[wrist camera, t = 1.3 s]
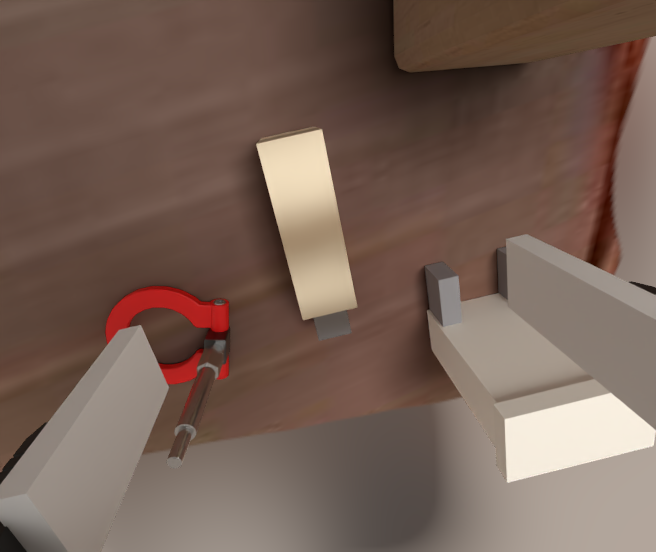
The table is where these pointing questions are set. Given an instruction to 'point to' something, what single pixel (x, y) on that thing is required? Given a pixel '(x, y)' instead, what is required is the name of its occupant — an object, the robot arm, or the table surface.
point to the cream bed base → (524, 384)
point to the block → (511, 30)
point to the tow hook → (199, 366)
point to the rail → (310, 227)
